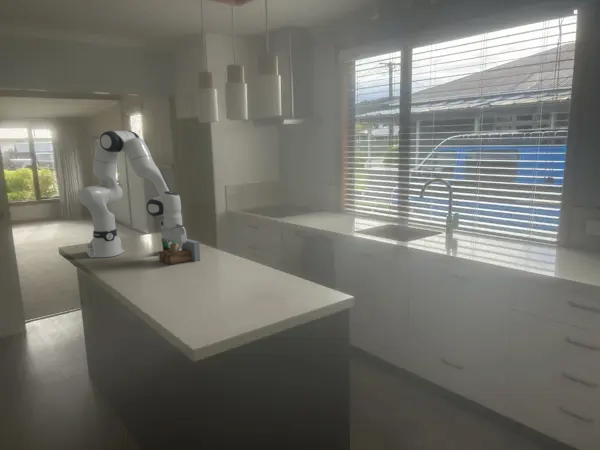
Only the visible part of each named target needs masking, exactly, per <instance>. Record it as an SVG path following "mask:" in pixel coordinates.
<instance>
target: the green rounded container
mask: <svg viewBox="0 0 600 450" xmlns="http://www.w3.org/2000/svg"><path fill="white" fill-rule="evenodd" d="M161 243H162V251H164V250H169V249H171V248H169V247H168V243H167V239H164V238H163V237H161ZM171 243H177V242H174V241H171Z"/></svg>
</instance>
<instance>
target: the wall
mask: <svg viewBox="0 0 600 450" xmlns="http://www.w3.org/2000/svg"><path fill="white" fill-rule="evenodd" d="M182 248H183V249H187V250H190V251H192V260H191V262H199V261H201V252H200V241H198V240H194V239H189V238H187V242H186V243H183V245H182Z"/></svg>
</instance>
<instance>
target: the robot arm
mask: <svg viewBox="0 0 600 450" xmlns="http://www.w3.org/2000/svg"><path fill="white" fill-rule="evenodd" d="M95 147H96V148H95V152H94V158H93V159H94V160H93V168H92V173H93V175H94V176H95V177H96V178H97V179H98V184H96V185H89V186H86V187H83V188H81V190H79V193H78V199H79V202H80V203H81V204H82V205H83V206H84V207H85V208H87V209H88V211H89V213H90V215H91V218H92V224H93V232H92V239H91V241H89V244H87V248H88V249H89V250H86V251H85V253H86V255H87V257H89V258H90V259H91V258H94V259H95V258H110V257H115V256H119V255H122V253H125V249H123V248H122V243H121V242H122V241H121V237H119V236H118V229H117V227H116V219H115V217H116V216H115V214H114V213H113V212H111V211H109V209H108V207H107V205H110V204H114V203H117V202H120V200H122V198H123V196H124V192H123V189H122V186H120V185H119V184H118V182H117V176H116V174H117V172H116V171H117V161H118V155H119V153H124V154H125V155H127V158H128V162H129V163H130V167H131V169H132V171H133V172H134V173H135V174H136V175H137V176H140V177H142V178H145V179H147V180H149V181H151V182H152V183H153V185H154V186H155V188H156V190H157V192H158V196H155V197H154V198H153V197H152V198H151V199H149V200H148V201H147V203H146V206H145V207H146V211H147V213H148V214H149V215H150V216H151V217H157V218H158V217H163V220H160V221H159V224H160V230H161V231H160V233H161V238H164V239H167V243H168V247H169V248H171V241H174V242H177V243H178V247H177V250H178V251H182V245H183V243H186V242H187V239H188V237H187V230H186V228H185V226H183V217H182V216H183V215H182V204H181V203H182V202H181V197H180V195H179V193H178V192H176V191H172V190H171V189H170V187H169V185H168V182H167V181H166V179H165V176H164V174H163V173H162V171H161V170H160V169H159V167H158V166H157V165H156V163H155V161H154V159H153V157H152V154H151V152H150V150H149V147H148V145H147V143H146V141H144V139H143V138H142V137H141V138H140V136H139V135H138V134H137V132H134V131H131V130H121V129H120V130H108V131H104V132H103V133H102V134H101V135H100V137H99V141H97V145H96V146H95Z"/></svg>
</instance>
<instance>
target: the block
mask: <svg viewBox="0 0 600 450" xmlns="http://www.w3.org/2000/svg"><path fill="white" fill-rule="evenodd" d="M158 253H159V254H158V256H159V261H160V262H163V263H164V264H168V265H170V266H173V265H177V264H183V263H186V262H192V251H190V250H187V249H183V248H182V251H179V252H176V253H171V249H169V250H164V251H163V250H160V251H159V252H158Z"/></svg>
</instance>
